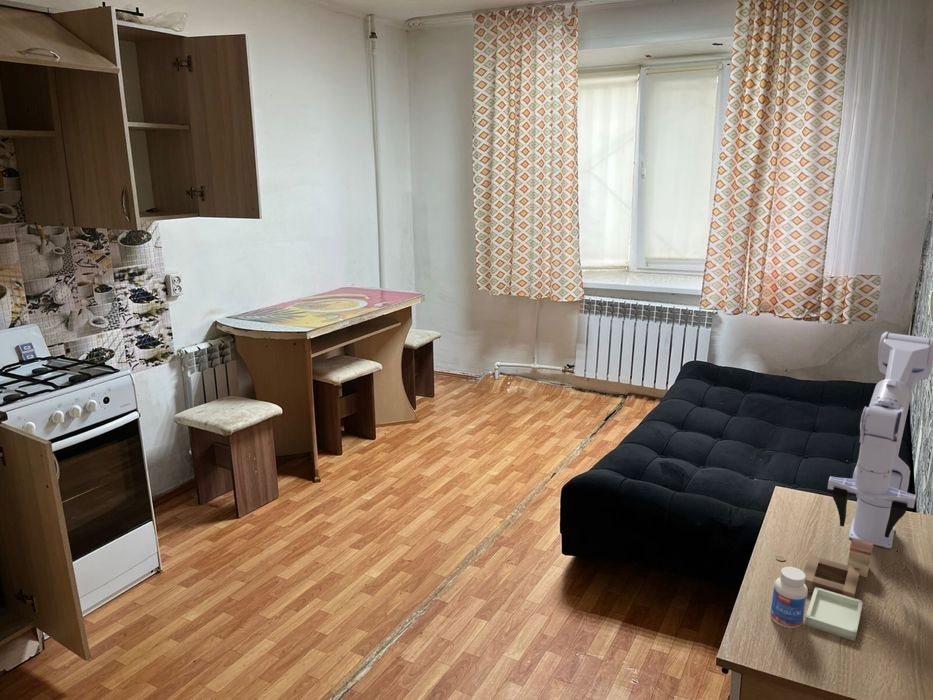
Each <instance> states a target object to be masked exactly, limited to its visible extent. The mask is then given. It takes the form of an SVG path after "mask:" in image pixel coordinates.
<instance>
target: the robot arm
mask: <svg viewBox="0 0 933 700" xmlns="http://www.w3.org/2000/svg"><path fill="white" fill-rule="evenodd" d="M877 366H878V368H879V369H878V371H879V372H881V374H883V375H885V378H884V379H882V380H880V381H879V382H877V383H876V385H875V387H874V390H873V393H872V396H871V399H870V402H869V405H868V407H867V406H864V408H863V410H862V414H861V417H860V425H859V431H860V432H859V434H860V435H859V443H860V446H859V453H858V459H857V463H856V466H855V468H854V471H853V475H852V478H847V477H837V476H831V475H830V476H829V479H828V483H827V490H831V491H832V490H833V492H832V498H833V501H834V503H835V506H836V509H837V512H838V518H839V526H840V527H845V523H846V518H847V505H848V500H849V495H850V494H849V493H852V494H855V496H856V499H857V500H856V505H855V512H854V516H853V518H852V522H851V526H850V530H849V534H848V538H849V539H850V540H852V539H856V540H860V541H864V542H867V543H871V544H873V546H877V547H883V548H886V549H892V547H893V541H894V534H895V529H896V527H895V526H896V525H897V523H898V522H899V521H900V520H901V518H902V517H904V515H905V514H906V512H907V508H911V509H914V508H915V504H916V496H917V495H916V494H913V493H910V492H908V489H909V484H910V475H911V470H910V467H909V466H908V464H906V463H905V461H904V460H902V458H900V457H899V453H900V448H901V444H902V438H903V434H904V430H905V425H906V420H907V416H908V411H909V407H910V402H911V398H912V397H911V396H912V392H913V390H914V388H916V387H915V386H917V383H918V382H920V381H924V380H927V379H929V375H931V371H932V368H933V337H931V338H930V337H923V336H915V335H910V334H902V333H901V334H900V333H893V332H889V331H885V332H884V333H882V334H881V336H880V340H879V344H878V349H877Z"/></svg>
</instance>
